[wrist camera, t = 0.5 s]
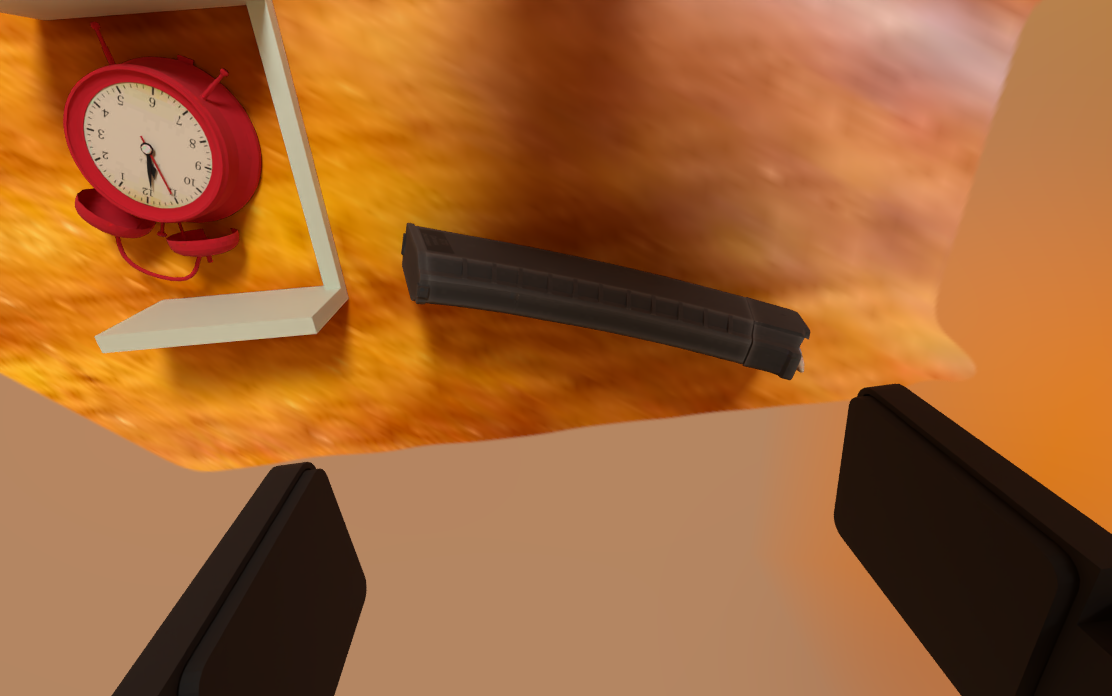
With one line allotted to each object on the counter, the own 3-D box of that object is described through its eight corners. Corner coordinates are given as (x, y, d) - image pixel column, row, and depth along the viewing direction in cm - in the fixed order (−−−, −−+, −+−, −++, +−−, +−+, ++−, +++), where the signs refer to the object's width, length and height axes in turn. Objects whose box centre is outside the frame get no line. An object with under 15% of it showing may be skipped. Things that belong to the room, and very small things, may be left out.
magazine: (333, 291, 31) (836, 450, 28) (336, 238, 30) (865, 399, 26) (449, 244, 47) (781, 342, 43) (455, 208, 46) (797, 306, 42)
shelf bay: (35, -3, 32) (-88, -31, 25) (266, -20, 32) (203, -52, 26) (168, 314, 40) (102, 353, 34) (348, 298, 41) (316, 333, 34)
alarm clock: (248, 70, 31) (199, 309, 33) (286, 97, 37) (243, 297, 40) (51, 0, 29) (15, 259, 31) (126, 40, 35) (91, 254, 38)
